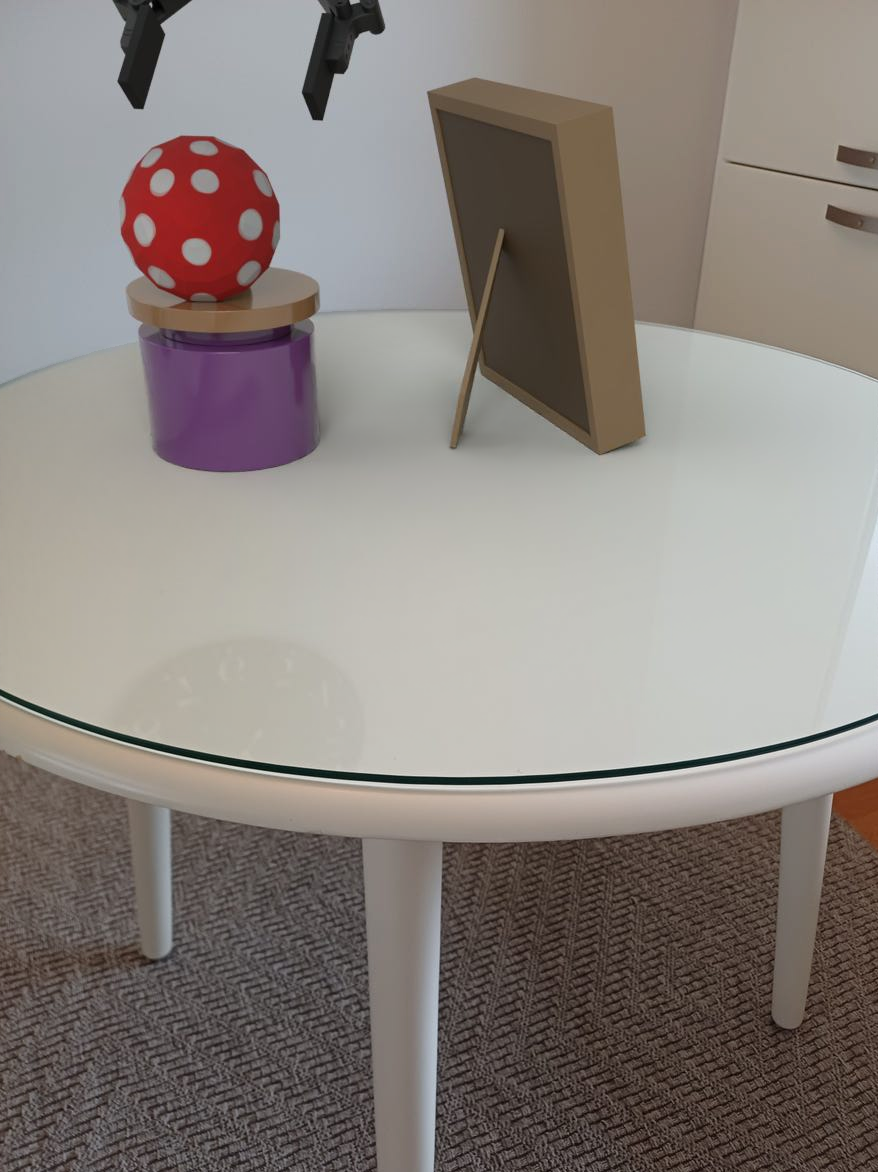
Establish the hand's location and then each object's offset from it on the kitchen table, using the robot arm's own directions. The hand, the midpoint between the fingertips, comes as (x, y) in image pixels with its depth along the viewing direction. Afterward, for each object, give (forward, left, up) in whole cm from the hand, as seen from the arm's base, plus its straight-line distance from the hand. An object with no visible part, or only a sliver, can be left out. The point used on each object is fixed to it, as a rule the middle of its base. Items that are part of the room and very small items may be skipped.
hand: (219, 101), depth 78 cm
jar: (0, -2, -24) cm, 24 cm away
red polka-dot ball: (0, -2, -12) cm, 13 cm away
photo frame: (+19, +10, -24) cm, 33 cm away
